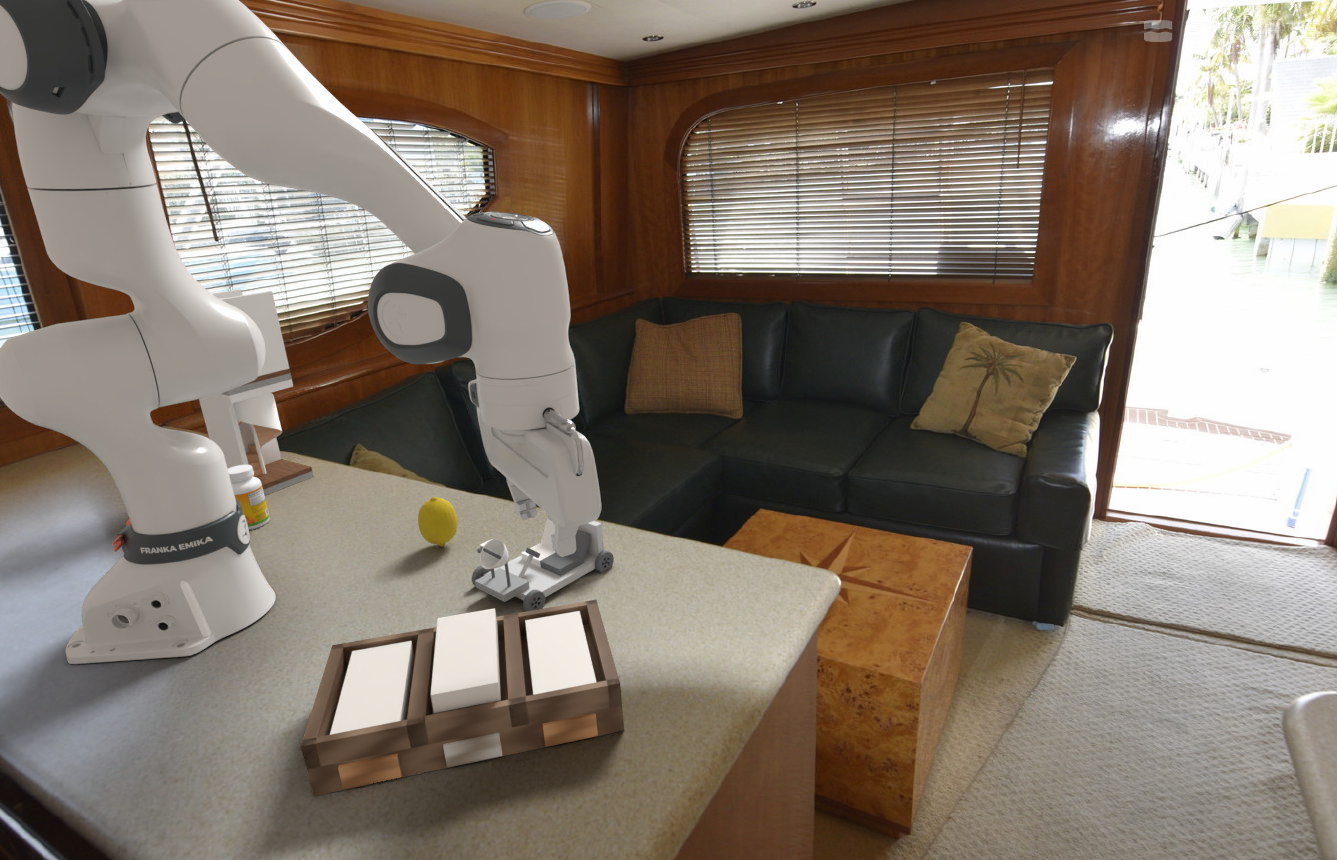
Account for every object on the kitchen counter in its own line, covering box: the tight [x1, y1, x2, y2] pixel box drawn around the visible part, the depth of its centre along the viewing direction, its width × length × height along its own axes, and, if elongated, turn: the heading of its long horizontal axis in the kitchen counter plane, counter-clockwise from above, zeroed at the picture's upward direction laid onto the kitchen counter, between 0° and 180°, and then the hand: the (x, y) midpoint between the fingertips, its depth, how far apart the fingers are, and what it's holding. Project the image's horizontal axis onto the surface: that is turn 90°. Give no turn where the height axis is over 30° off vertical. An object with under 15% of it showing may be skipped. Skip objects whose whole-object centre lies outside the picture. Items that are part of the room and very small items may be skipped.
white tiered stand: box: [198, 288, 315, 496], centre depth 134 cm, size 11×11×35 cm
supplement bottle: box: [228, 465, 271, 531], centre depth 121 cm, size 5×5×10 cm
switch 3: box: [525, 611, 596, 695], centre depth 77 cm, size 6×13×2 cm, turn 13°
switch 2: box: [431, 608, 501, 713], centre depth 75 cm, size 6×13×2 cm, turn 13°
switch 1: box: [330, 641, 415, 735], centre depth 73 cm, size 6×13×2 cm, turn 14°
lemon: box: [417, 496, 459, 547], centre depth 110 cm, size 6×6×8 cm
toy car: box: [471, 514, 615, 612], centre depth 99 cm, size 18×10×12 cm
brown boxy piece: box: [299, 599, 625, 797], centre depth 76 cm, size 28×16×6 cm, turn 103°
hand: (544, 533), depth 73 cm, fingers open, 8 cm apart
